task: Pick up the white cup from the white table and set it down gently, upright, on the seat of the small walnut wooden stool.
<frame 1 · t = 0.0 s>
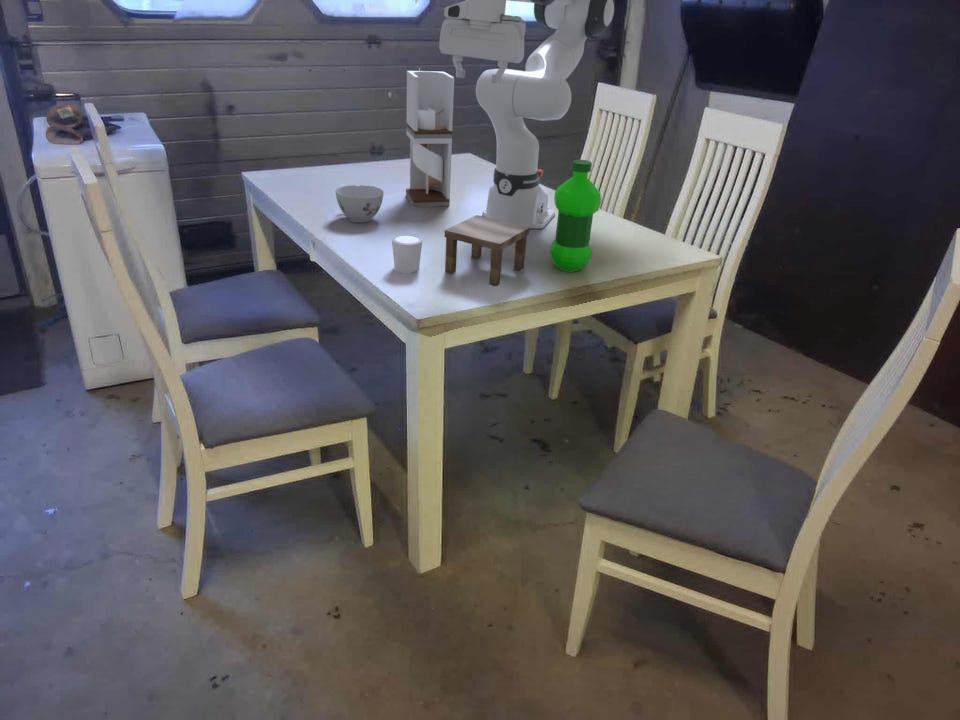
hand: (477, 80, 160), 39 cm above the table, tool pointing down, fingers open, 8 cm apart
display case: (427, 201, 210), on the table
plastic bottle: (568, 268, 169), on the table
white cup: (406, 268, 163), on the table
wooden stool: (485, 270, 164), on the table
teacup: (358, 219, 192), on the table
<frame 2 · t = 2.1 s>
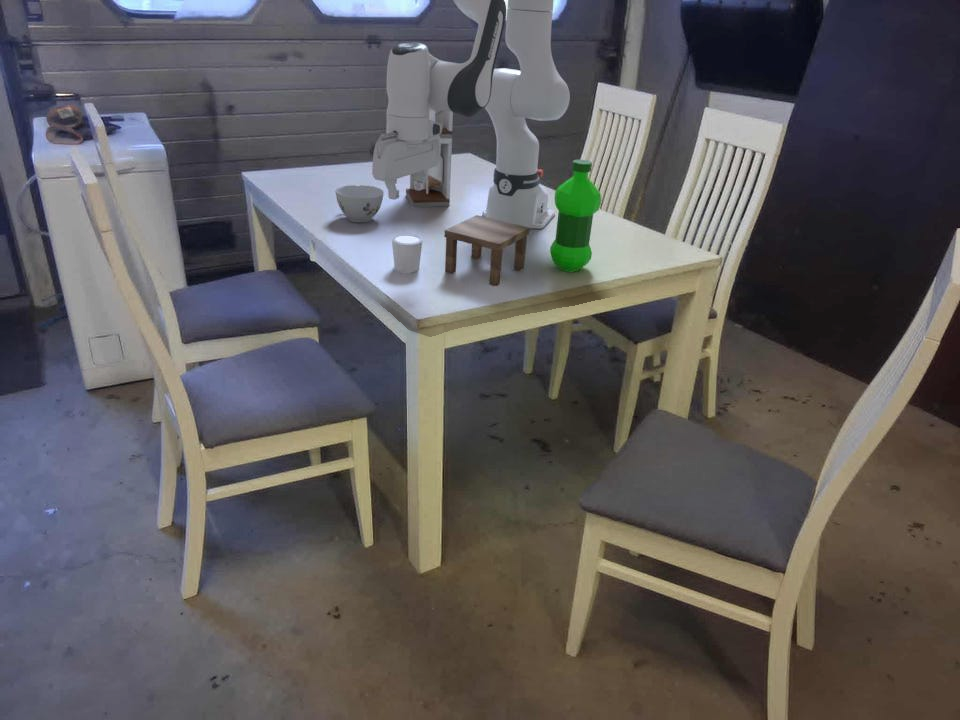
hand: (406, 194, 154), 17 cm above the table, tool pointing down, fingers open, 8 cm apart
nothing on the table moved.
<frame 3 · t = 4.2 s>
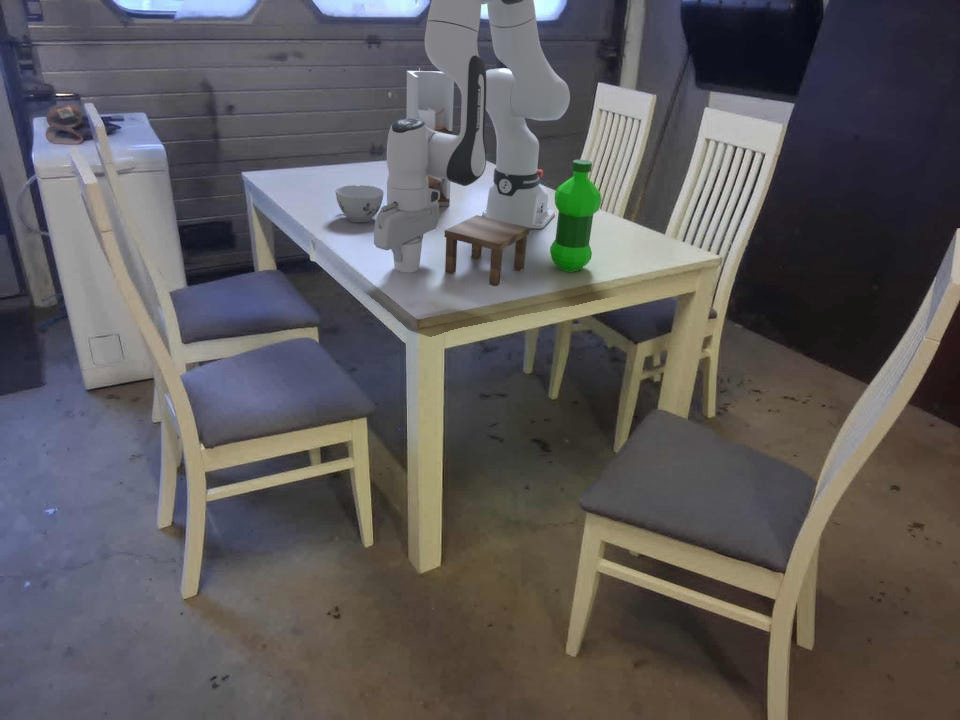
hand: (406, 257, 162), 3 cm above the table, tool pointing down, fingers closed on white cup, 5 cm apart
white cup: (406, 268, 163), on the table, touching gripper
everything else where it was.
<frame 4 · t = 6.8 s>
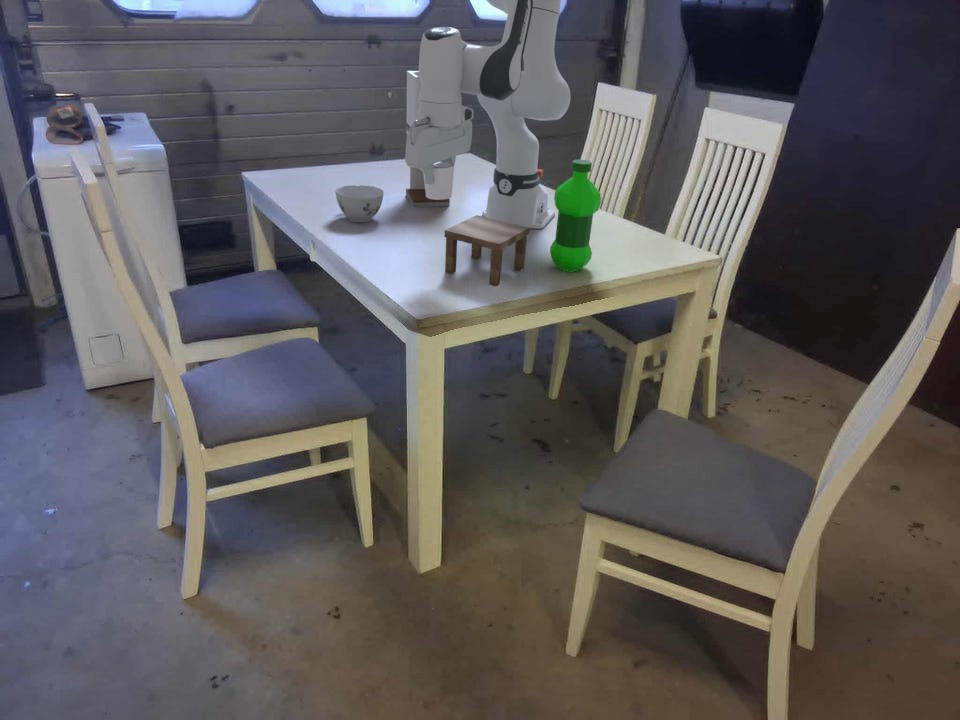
hand: (438, 180, 154), 20 cm above the table, tool pointing down, fingers closed on white cup, 5 cm apart
white cup: (438, 197, 156), point 17 cm above the table, touching gripper
everything else where it was.
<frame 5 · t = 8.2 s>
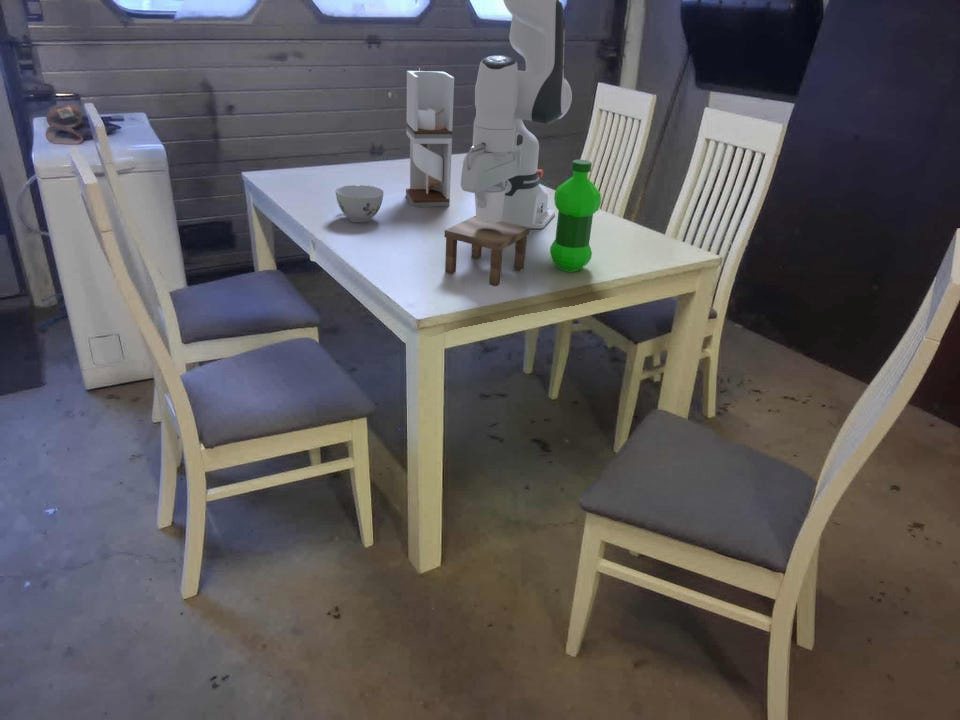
hand: (489, 203, 157), 16 cm above the table, tool pointing down, fingers closed on white cup, 5 cm apart
white cup: (488, 220, 158), point 12 cm above the table, touching gripper
everything else where it was.
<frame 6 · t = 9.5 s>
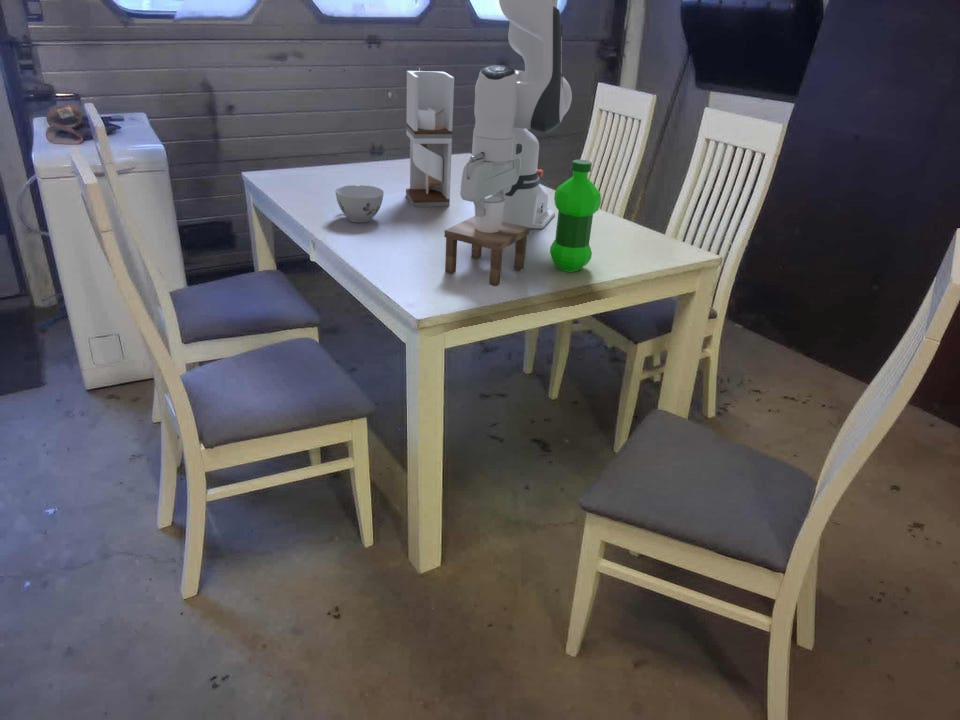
hand: (488, 212, 158), 14 cm above the table, tool pointing down, fingers closed on white cup, 6 cm apart
white cup: (487, 229, 160), point 10 cm above the table, touching gripper
everything else where it was.
when the fingers open (14 cm above the table, at t = 9.5 s): white cup moves 4 cm, resting on wooden stool.
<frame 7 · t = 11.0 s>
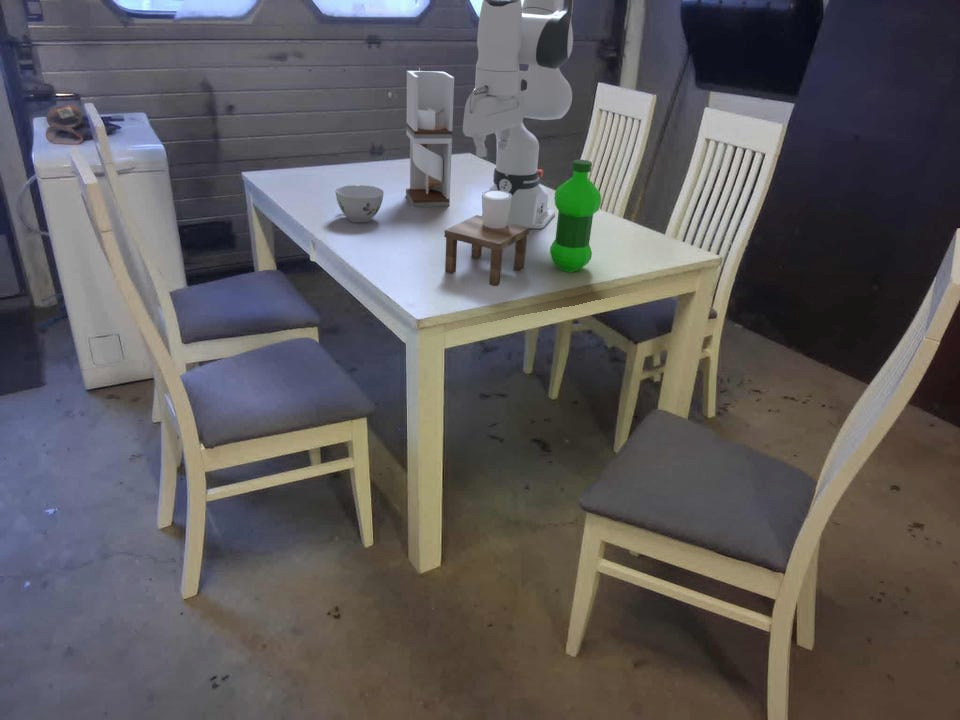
hand: (492, 152, 151), 27 cm above the table, tool pointing down, fingers open, 8 cm apart
white cup: (495, 224, 162), point 10 cm above the table, touching wooden stool
everything else where it was.
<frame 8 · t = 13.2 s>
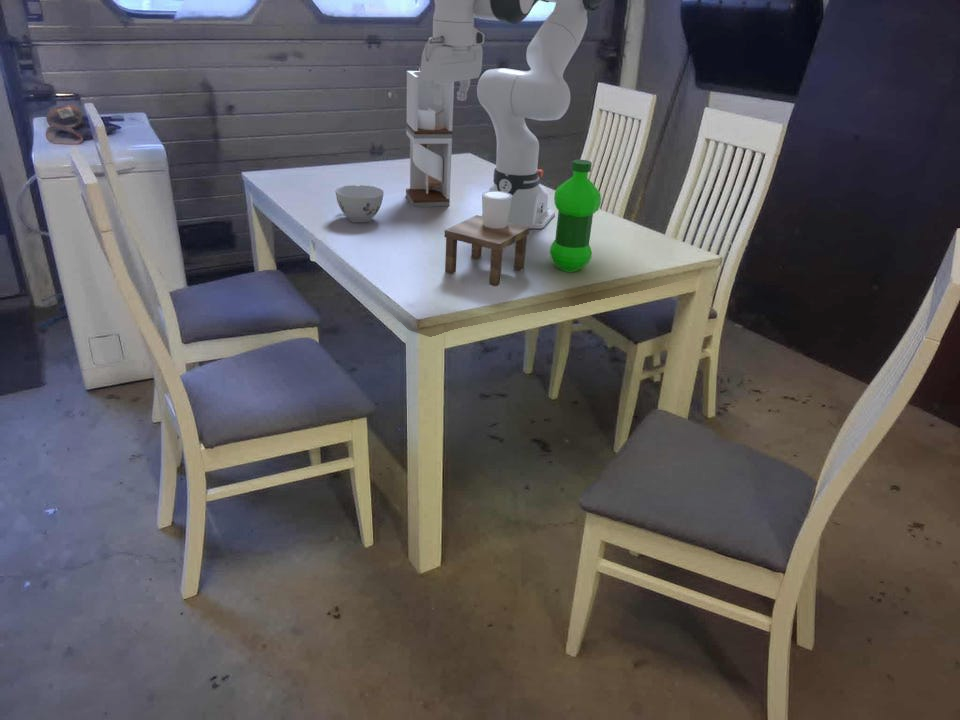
hand: (450, 102, 160), 34 cm above the table, tool pointing down, fingers open, 8 cm apart
nothing on the table moved.
at the end: white cup inside the target area on the wooden stool (3.7 cm from its centre), point 9.8 cm above the wooden stool's base; white cup tilted 0°; the gripper is holding nothing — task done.
